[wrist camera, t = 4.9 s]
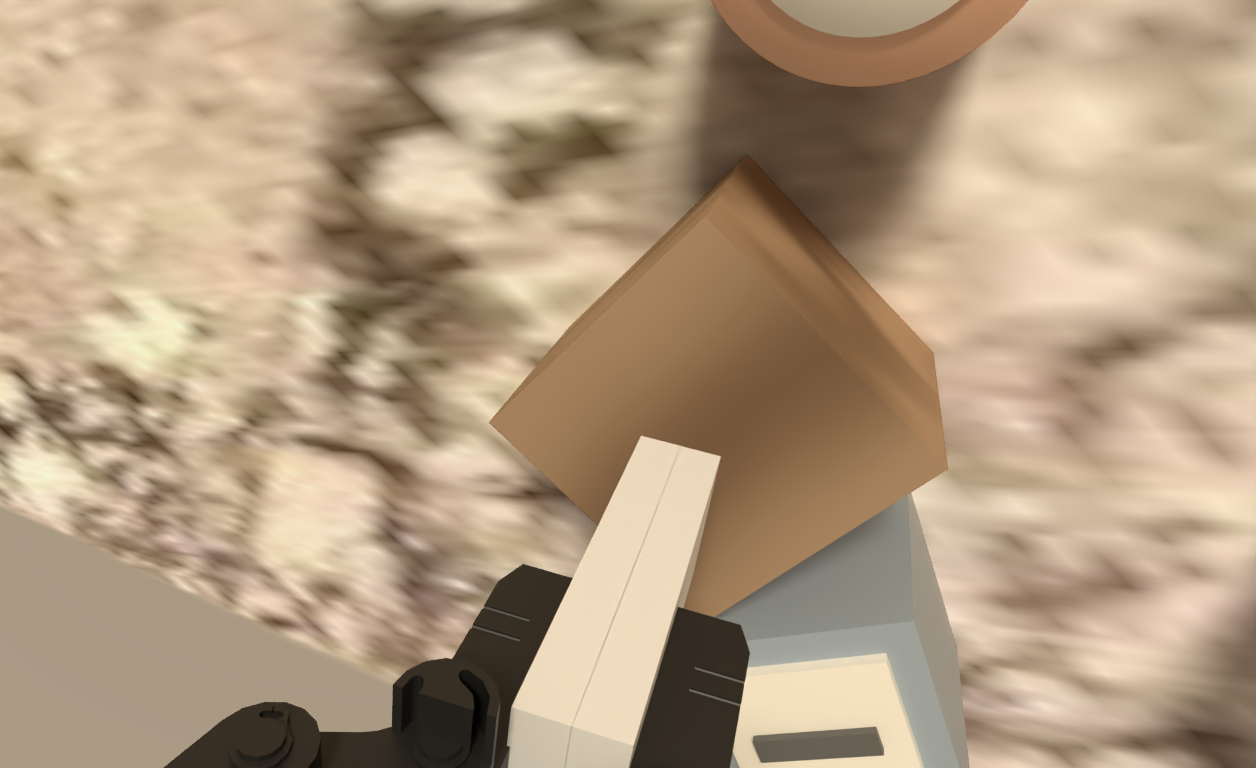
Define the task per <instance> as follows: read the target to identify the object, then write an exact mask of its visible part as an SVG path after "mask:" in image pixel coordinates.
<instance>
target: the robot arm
mask: <svg viewBox="0 0 1256 768" xmlns="http://www.w3.org/2000/svg"><path fill="white" fill-rule="evenodd" d="M720 458H721V456H717V455H714V454H710V453H706V452H702V451H698V450H694V449H690V448H687V447H683V446H679V445H675V444H671V443H667V442H664V441H660V440H656V439H652V438H648V437H644V436H641V437H640V439H639V441H638V443H637V445H636V447H635V450H634V452H633V454H632V456H631V458H630V460H629V462H628V464H627V466H626V468H625V470H624V473H623V475H622V477H621V479H620V481H619V483H618V485H617V487H616V489H615V491H614V493H613V496H612V498H611V500H610V502H609V504H608V506H607V508H606V510H605V512H604V514H603V516H602V519H601V521H600V523H599V525H598V527H597V529H596V531H595V533H594V535H593V537H592V539H591V542H590V544H589V546H588V548H587V550H586V552H585V554H584V556H583V558H582V560H581V562H580V565H579V567H578V569H577V571H576V573H575V575H574V577H573V578H569V577H566V576H563V575H559V574H556V573H552V572H549V571H545V570H542V569H538V568H535V567H532V566H528V565H525V564H522V565H521V566H520V567H518V568H517V569H515V570H514V571H512V572H511V573H510V574H508V575H507V576H505V577H504V578H502V579H501V580H499V581H498V583H497V585H496V586H495V588H494V590H493V591H492V593H491V595H490V596H489V598H488V600H487V601H486V603H485V605H484V609H482V610H481V612H480V613H479V615H478V617H477V618H476V620H475V622H474V623H473V627H472V629H470V630H469V632H468V633H467V635H466V637H465V639H464V640H463V642H462V644H461V645H460V647H459V649H458V650H457V652H456V654H455V655H454V657H453V659H448V658H444V659H438V660H431V661H425V662H423V663H421V664H419V665H417V666H415V667H413V668H411V669H409V670H407V671H406V672H405V673H404V674H403V675H402V676H401V677H400V678H399V679H398V680H397V681H396V682H395V683H394V684H393V706H392V727H389V728H386V729H382V730H379V731H371V732H319V729H318V725H317V721H316V720H315V719H314V718H313V717H312V716H311V715H310V714H309V713H308V712H307V711H306V710H305V709H303V708H300V707H297V706H294V705H292V704H289V703H286V702H264V703H260V704H257V705H252V706H249V707H245V708H242V709H240V710H239V711H237V712H235V713H234V714H232V715H230V716H229V717H227V718H225V719H224V720H222V721H221V722H220V723H218V724H217V725H216V726H215V727H213V728H212V729H211V730H210V731H208V733H206V734H205V735H203V736H202V737H201V738H200V739H199V740H197V741H196V742H195V743H194V744H192V745H191V746H190V747H189V748H188V749H186V750H185V751H184V752H182V753H181V754H180V755H179V756H177V757H176V758H175V759H174V760H172V761H171V762H170V763H169V764H168V765H167V766H165V767H164V768H730V764H731V758H732V753H733V747H734V741H735V736H736V730H737V724H738V719H739V713H740V706H741V702H742V696H743V690H744V683H745V679H746V673H747V668H748V662H749V656H750V651H749V648H748V645H747V642H746V639H745V636H744V633H743V630H742V627H741V625H739V624H736V623H732V622H729V621H725V620H722V619H719V618H715V617H712V616H708V615H705V614H701V613H698V612H694V611H691V610H687V609H684V604H685V601H686V597H687V594H688V590H689V587H690V583H691V580H692V576H693V573H694V569H695V565H696V560H697V556H698V552H699V548H700V543H701V539H702V535H703V531H704V526H705V522H706V518H707V514H708V509H709V505H710V501H711V496H712V492H713V488H714V484H715V479H716V475H717V471H718V467H719V462H720Z"/></svg>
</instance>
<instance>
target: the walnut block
mask: <svg viewBox="0 0 1256 768" xmlns="http://www.w3.org/2000/svg"><path fill="white" fill-rule="evenodd" d="M489 423H490V424H491V425H492V426H493V427H494V428H495V429H496V430H497V431H498V432H499V433H501V434H502V435H503V436H504V437H505V438H506V439H507V440H508V441H509V442H510V443H511V444H512V445H513V446H514V447H515V448H516V449H517V450H518V451H520V452H521V453H522V454H523V455H524V456H525V457H526V458H527V459H528V460H529V461H530V462H531V463H532V464H533V465H534V466H535V467H536V468H537V469H539V470H540V471H541V472H542V473H543V474H544V475H545V476H546V477H547V478H548V479H549V480H550V481H551V482H552V483H553V484H554V485H555V486H556V487H558V488H559V489H560V490H561V491H562V492H563V493H564V494H565V495H566V496H567V497H568V498H569V499H570V500H571V501H572V502H573V503H574V504H575V505H577V506H578V507H579V508H580V509H581V510H582V511H583V512H584V513H585V514H586V515H587V516H588V517H589V518H590V519H591V520H592V521H593V522H594V523H596V524H597V525H599V523H600V521H601V519H602V516H603V514H604V512H605V510H606V508H607V506H608V504H609V502H610V500H611V498H612V496H613V493H614V491H615V489H616V487H617V485H618V483H619V481H620V479H621V477H622V475H623V473H624V470H625V468H626V466H627V464H628V462H629V460H630V458H631V456H632V454H633V452H634V450H635V447H636V445H637V443H638V441H639V439H640V437H641V436H644V437H648V438H652V439H656V440H660V441H664V442H667V443H671V444H675V445H679V446H683V447H687V448H690V449H694V450H698V451H702V452H706V453H710V454H714V455H717V456H721V458H720V462H719V467H718V471H717V475H716V479H715V484H714V488H713V492H712V496H711V501H710V505H709V509H708V514H707V518H706V522H705V526H704V531H703V535H702V539H701V543H700V548H699V552H698V556H697V560H696V565H695V569H694V573H693V576H692V580H691V583H690V587H689V590H688V594H687V597H686V601H685V604H684V608H685V609H687V610H691V611H694V612H698V613H701V614H705V615H708V616H712V617H715V616H717V615H718V614H720V613H722V612H723V611H725V610H726V609H728V608H730V607H731V606H733V605H734V604H736V603H737V602H739V601H741V600H742V599H744V598H745V597H747V596H748V595H750V594H752V593H753V592H755V591H756V590H758V589H759V588H761V587H763V586H764V585H766V584H767V583H769V582H771V581H772V580H774V579H775V578H777V577H778V576H780V575H782V574H783V573H785V572H786V571H788V570H789V569H791V568H793V567H794V566H796V565H797V564H799V563H800V562H802V561H804V560H805V559H807V558H808V557H810V556H812V555H813V554H815V553H816V552H818V551H819V550H821V549H823V548H824V547H826V546H827V545H829V544H830V543H832V542H834V541H835V540H837V539H838V538H840V537H841V536H843V535H845V534H846V533H848V532H849V531H851V530H853V529H854V528H856V527H857V526H859V525H860V524H862V523H864V522H865V521H867V520H868V519H870V518H871V517H873V516H875V515H876V514H878V513H879V512H881V511H882V510H884V509H886V508H887V507H889V506H890V505H892V504H894V503H895V502H897V501H898V500H900V499H901V498H903V497H905V496H906V495H908V494H909V493H911V492H912V491H914V490H916V489H917V488H919V487H920V486H922V485H923V484H925V483H927V482H928V481H930V480H931V479H933V478H935V477H936V476H938V475H939V474H941V473H942V472H944V471H946V470H947V469H948V465H947V457H946V449H945V441H944V433H943V425H942V417H941V410H940V402H939V394H938V386H937V378H936V370H935V362H934V355H933V352H932V351H931V350H930V348H929V347H928V346H927V345H926V344H925V343H924V342H923V341H922V340H921V339H920V338H919V337H918V336H917V335H916V334H915V332H914V331H913V330H912V329H911V328H910V327H909V326H908V325H907V324H906V323H905V322H904V321H903V320H902V319H901V318H900V317H899V315H898V314H897V313H896V312H895V311H894V310H893V309H892V308H891V307H890V306H889V305H888V304H887V303H886V302H885V301H884V300H883V298H882V297H881V296H880V295H879V294H878V293H877V292H876V291H875V290H874V289H873V288H872V287H871V286H870V285H869V284H868V283H867V281H866V280H865V279H864V278H863V277H862V276H861V275H860V274H859V273H858V272H857V271H856V270H855V269H854V268H853V267H852V265H851V264H850V263H849V262H848V261H847V260H846V259H845V258H844V257H843V256H842V255H841V254H840V253H839V252H838V251H837V250H836V248H835V247H834V246H833V245H832V244H831V243H830V242H829V241H828V240H827V239H826V238H825V237H824V236H823V235H822V234H821V233H820V231H819V230H818V229H817V228H816V227H815V226H814V225H813V224H812V223H811V222H810V221H809V220H808V219H807V218H806V217H805V215H804V214H803V213H802V212H801V211H800V210H799V209H798V208H797V207H796V206H795V205H794V204H793V203H792V202H791V201H790V200H789V198H788V197H787V196H786V195H785V194H784V193H783V192H782V191H781V190H780V189H779V188H778V187H777V186H776V185H775V184H774V183H773V181H772V180H771V179H770V178H769V177H768V176H767V175H766V174H765V173H764V172H763V171H762V170H761V169H760V168H759V167H758V166H757V164H756V163H755V162H754V161H753V160H752V159H751V158H750V157H749V156H748V155H747V156H746V157H744V158H743V159H742V160H741V161H740V162H739V163H738V164H737V165H736V166H735V167H734V168H733V169H732V170H731V171H730V172H729V173H728V174H727V175H726V176H725V177H724V178H723V179H722V180H721V181H720V182H719V183H718V184H717V185H716V186H715V187H713V188H712V189H711V190H710V191H709V192H708V193H707V194H706V195H705V196H704V197H703V198H702V199H701V200H700V201H699V202H698V203H697V204H696V205H695V206H694V207H693V208H692V209H691V210H690V211H689V212H688V213H687V214H686V215H685V216H684V217H683V218H681V219H680V220H679V221H678V222H677V223H676V224H675V225H674V226H673V227H672V228H671V229H670V230H669V231H668V232H667V233H666V234H665V235H664V236H663V237H662V238H661V239H660V240H659V241H658V242H657V243H656V244H655V245H654V246H653V247H652V248H651V249H649V250H648V251H647V252H646V253H645V254H644V255H643V256H642V257H641V258H640V259H639V260H638V261H637V262H636V263H635V264H634V265H633V266H632V267H631V268H630V269H629V270H628V271H627V272H626V273H625V274H624V275H623V276H622V277H621V278H620V279H618V280H617V281H616V282H615V283H614V284H613V285H612V286H611V287H610V288H609V289H608V290H607V291H606V292H605V293H604V294H603V295H602V296H601V297H600V298H599V299H598V300H597V301H596V302H595V303H594V304H593V305H592V306H591V307H590V308H589V309H588V310H586V311H585V312H584V313H583V314H582V315H581V316H580V317H579V318H578V319H577V320H576V321H575V322H574V323H573V324H572V325H571V326H570V327H569V328H568V329H567V331H566V332H565V333H564V334H563V335H562V336H561V338H560V339H559V340H558V341H557V342H556V344H555V345H554V346H553V347H552V348H551V349H550V351H549V352H548V353H547V354H546V355H545V357H544V358H543V359H542V360H541V361H540V363H539V364H538V365H537V366H536V367H535V368H534V370H533V371H532V372H531V373H530V374H529V376H528V377H527V378H526V379H525V380H524V381H523V383H522V384H521V385H520V386H519V387H518V389H517V390H516V391H515V392H514V393H513V394H512V396H511V397H510V398H509V399H508V400H507V402H506V403H505V404H504V405H503V406H502V408H501V409H500V410H499V411H498V412H497V413H496V415H495V416H494V417H493V418H492V419H491V421H490V422H489Z"/></svg>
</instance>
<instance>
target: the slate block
mask: <svg viewBox="0 0 1256 768" xmlns="http://www.w3.org/2000/svg"><path fill="white" fill-rule="evenodd" d="M684 609H685V608H684ZM715 618H719V619H722V620H725V621H729V622H732V623H736V624H739V625H741V627H742V630H743V633H744V636H745V639H746V642H747V645H748V648H749V651H750V656H749V662H748V668H747V673H746V679H745V683H744V690H743V696H742V702H741V706H740V713H739V719H738V724H737V730H736V736H735V741H734V747H733V753H732V758H731V764H730V768H969V759H968V750H967V740H966V731H965V722H964V712H963V703H962V693H961V684H960V675H959V665H958V656H957V646H956V643H955V640H954V636H953V633H952V629H951V626H950V623H949V619H948V616H947V612H946V609H945V606H944V602H943V599H942V596H941V592H940V589H939V585H938V582H937V579H936V575H935V572H934V568H933V565H932V562H931V558H930V555H929V551H928V548H927V545H926V541H925V538H924V534H923V531H922V528H921V524H920V521H919V517H918V514H917V511H916V507H915V504H914V500H913V497H912V494H911V493H909V494H908V495H906V496H905V497H903V498H901V499H900V500H898V501H897V502H895V503H894V504H892V505H890V506H889V507H887V508H886V509H884V510H882V511H881V512H879V513H878V514H876V515H875V516H873V517H871V518H870V519H868V520H867V521H865V522H864V523H862V524H860V525H859V526H857V527H856V528H854V529H853V530H851V531H849V532H848V533H846V534H845V535H843V536H841V537H840V538H838V539H837V540H835V541H834V542H832V543H830V544H829V545H827V546H826V547H824V548H823V549H821V550H819V551H818V552H816V553H815V554H813V555H812V556H810V557H808V558H807V559H805V560H804V561H802V562H800V563H799V564H797V565H796V566H794V567H793V568H791V569H789V570H788V571H786V572H785V573H783V574H782V575H780V576H778V577H777V578H775V579H774V580H772V581H771V582H769V583H767V584H766V585H764V586H763V587H761V588H759V589H758V590H756V591H755V592H753V593H752V594H750V595H748V596H747V597H745V598H744V599H742V600H741V601H739V602H737V603H736V604H734V605H733V606H731V607H730V608H728V609H726V610H725V611H723V612H722V613H720V614H718V615H717V616H715Z"/></svg>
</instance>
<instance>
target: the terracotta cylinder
mask: <svg viewBox="0 0 1256 768" xmlns="http://www.w3.org/2000/svg"><path fill="white" fill-rule="evenodd" d="M711 1H712V3H713V4H714V6H715V8H716V9H717V11H718V12H719V13H720V15H721V16H722V18H723V19H724V20H725V22H726V23H727V24H728V26H729V27H730V28H731V29H732V30H733V31H734V32H735V33H736V34H737V35H738V36H739V38H740V39H741V40H742V41H743V42H744V43H745V44H747V45H748V46H749V47H750V48H752V49H753V50H754V51H755V52H757V53H758V54H759V55H760V56H761V57H763V58H764V59H766V60H768V61H769V62H771V63H773V64H775V65H776V66H778V67H780V68H781V69H783V70H786V71H788V72H790V73H793V74H795V75H797V76H800V77H802V78H805V79H809V80H813V81H817V82H820V83H824V84H830V85H839V86H847V87H869V86H880V85H886V84H893V83H899V82H903V81H906V80H910V79H913V78H917V77H921V76H923V75H926V74H928V73H931V72H933V71H935V70H938V69H940V68H943V67H945V66H947V65H949V64H951V63H952V62H954V61H956V60H958V59H960V58H961V57H963V56H965V55H967V54H968V53H970V52H972V51H973V50H974V49H976V48H977V47H978V46H980V45H981V44H983V43H984V42H985V41H987V40H988V39H989V38H991V37H992V36H993V35H994V34H996V33H997V32H998V31H999V30H1000V29H1001V28H1002V27H1003V26H1004V25H1005V24H1006V23H1008V22H1009V21H1010V20H1011V19H1012V18H1013V17H1014V16H1015V15H1016V14H1017V13H1018V11H1019V10H1020V9H1021V8H1022V7H1023V6H1024V5H1025V3H1026V2H1027V1H1028V0H711Z"/></svg>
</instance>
